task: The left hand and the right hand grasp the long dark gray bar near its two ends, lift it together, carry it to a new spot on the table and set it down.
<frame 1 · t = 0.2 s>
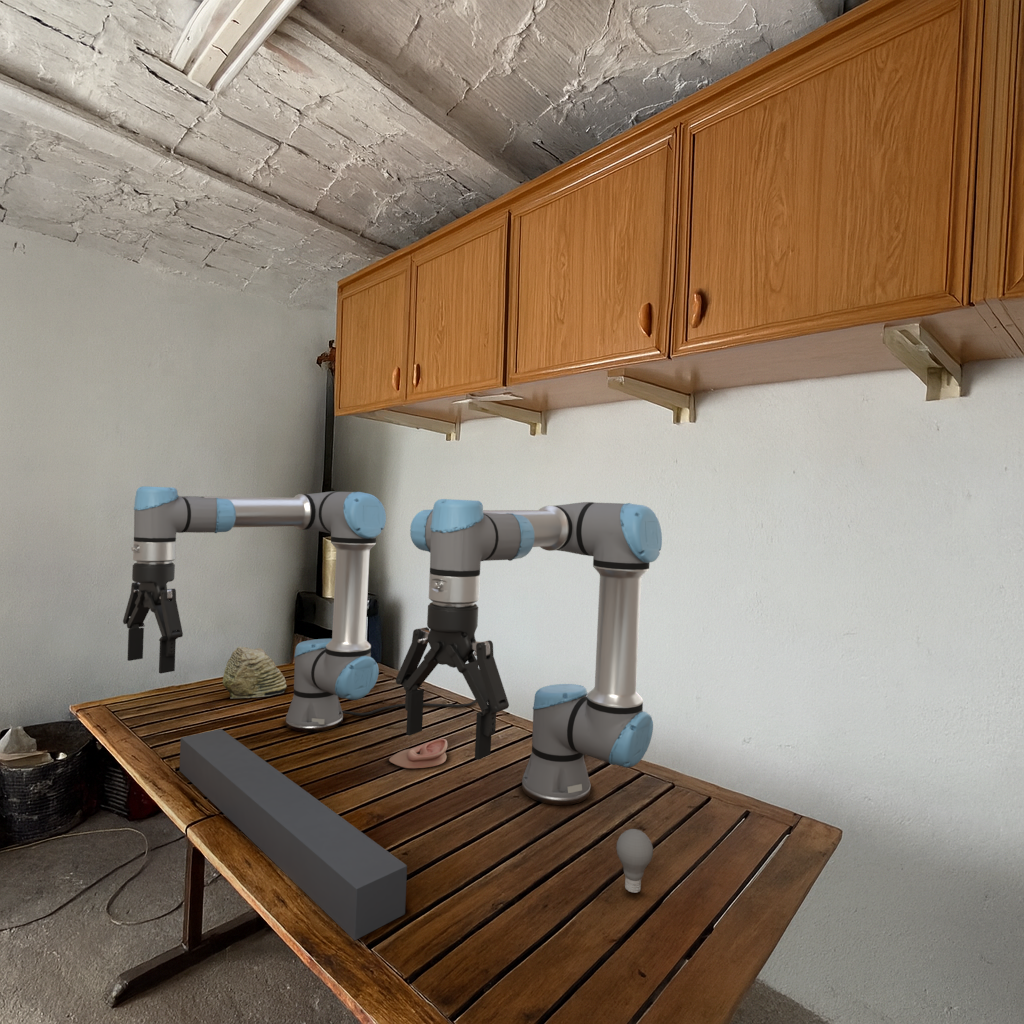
left hand: (150, 665, 130), 27 cm above the table, tool pointing down, fingers open, 13 cm apart
right hand: (446, 744, 95), 27 cm above the table, tool pointing down, fingers open, 13 cm apart
fossil: (254, 694, 198), on the table
anatomical model: (418, 760, 154), on the table
long dark gray bar: (270, 828, 120), on the table
light bulb: (632, 891, 106), on the table
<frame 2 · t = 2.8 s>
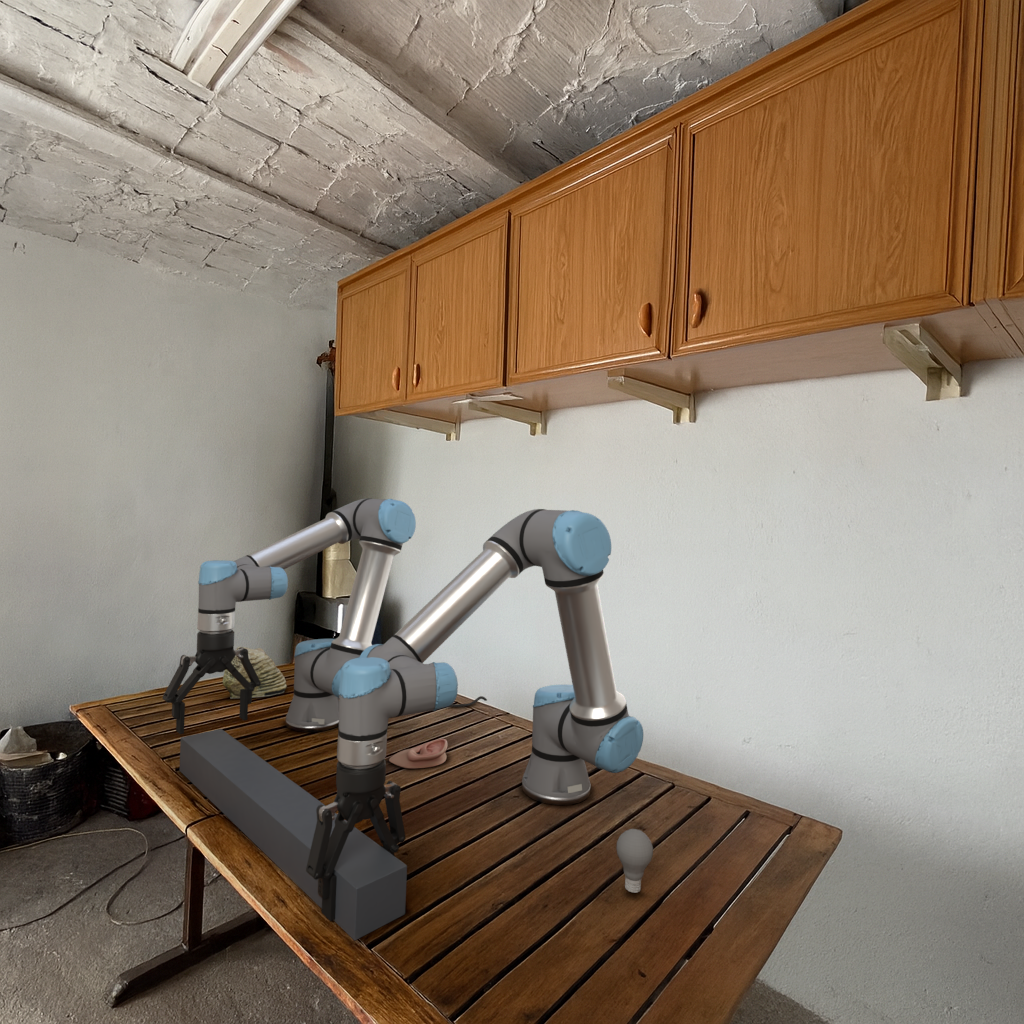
left hand: (212, 725, 141), 11 cm above the table, tool pointing down, fingers open, 13 cm apart
right hand: (356, 902, 99), 0 cm above the table, tool pointing down, fingers closed on long dark gray bar, 9 cm apart
long dark gray bar: (270, 828, 120), on the table, touching right hand
everything else where it was.
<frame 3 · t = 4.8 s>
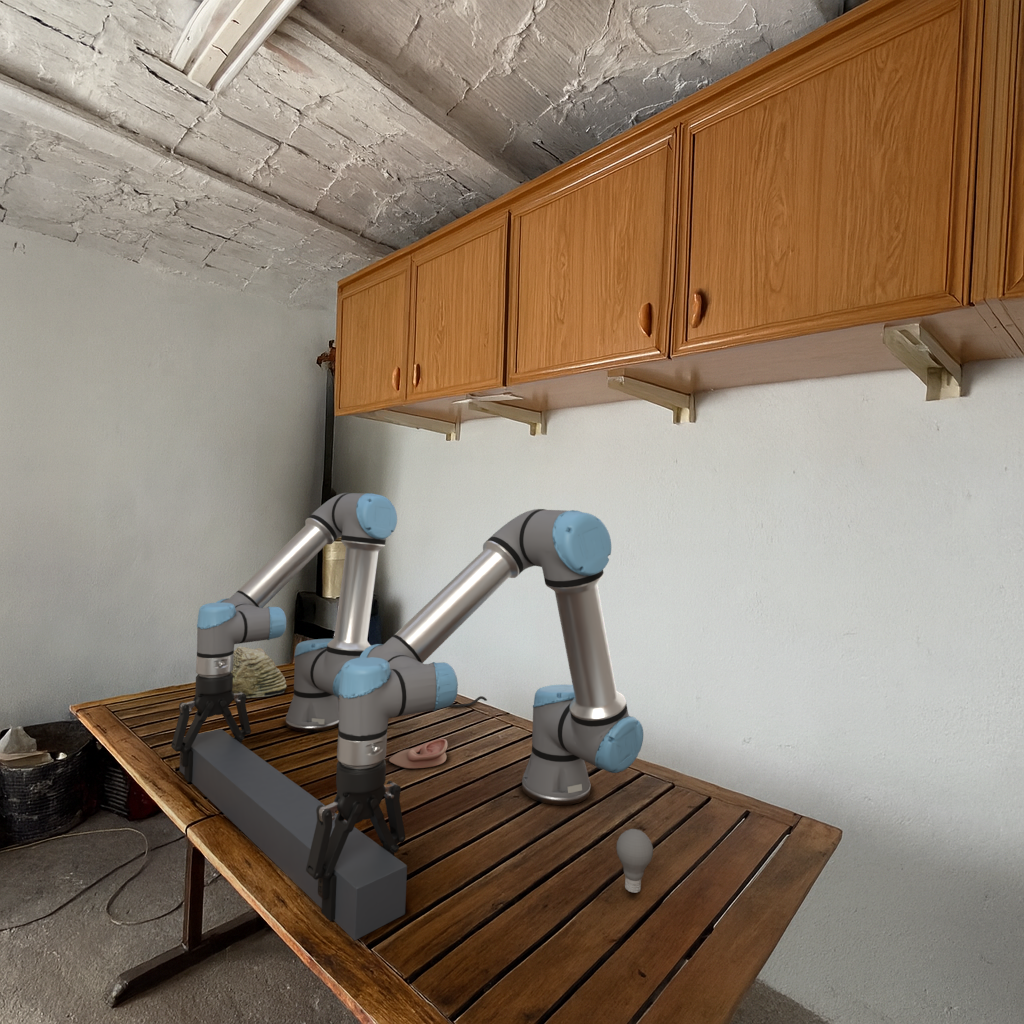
left hand: (211, 773, 141), 0 cm above the table, tool pointing down, fingers closed on long dark gray bar, 9 cm apart
right hand: (356, 902, 99), 0 cm above the table, tool pointing down, fingers closed on long dark gray bar, 9 cm apart
long dark gray bar: (270, 828, 120), on the table, touching left hand, right hand
everything else where it was.
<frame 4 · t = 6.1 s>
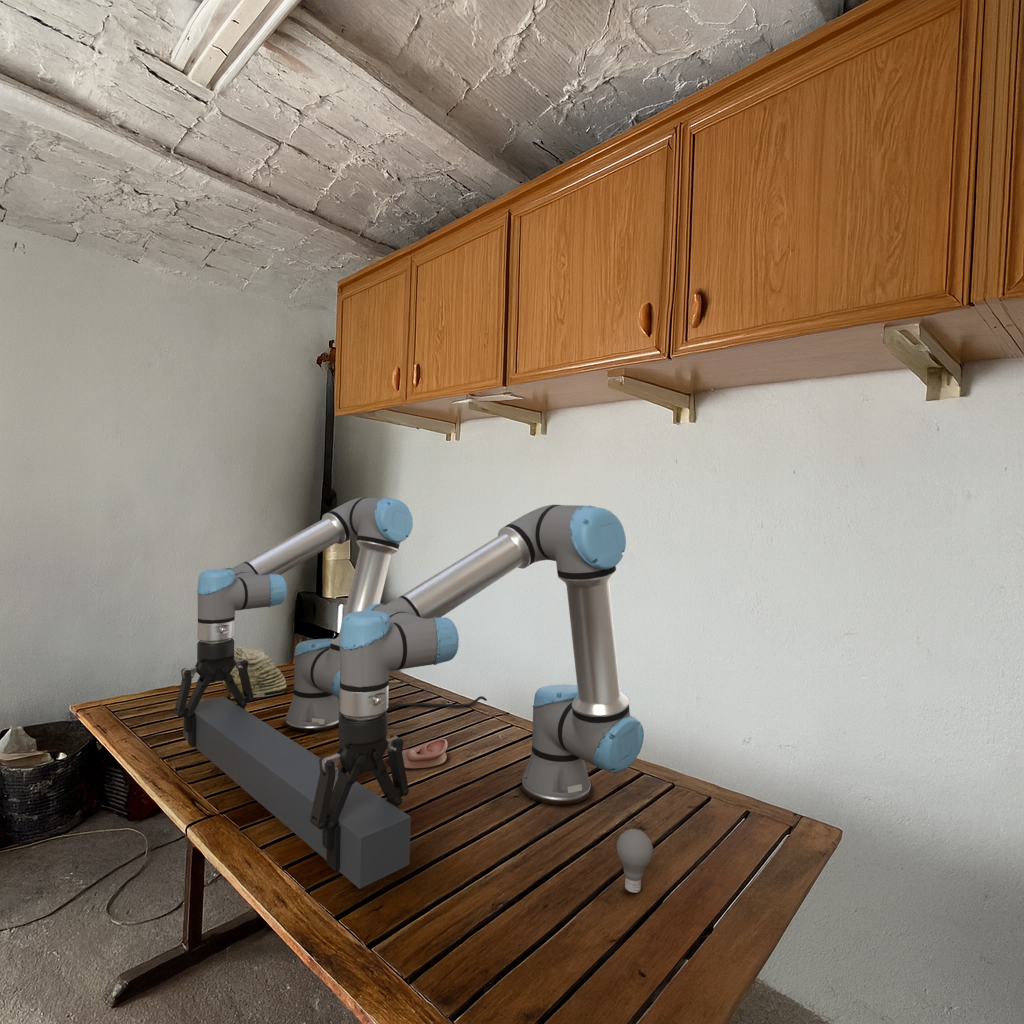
left hand: (214, 739, 142), 8 cm above the table, tool pointing down, fingers closed on long dark gray bar, 9 cm apart
right hand: (360, 854, 99), 8 cm above the table, tool pointing down, fingers closed on long dark gray bar, 9 cm apart
long dark gray bar: (275, 789, 121), point 7 cm above the table, touching left hand, right hand
everything else where it was.
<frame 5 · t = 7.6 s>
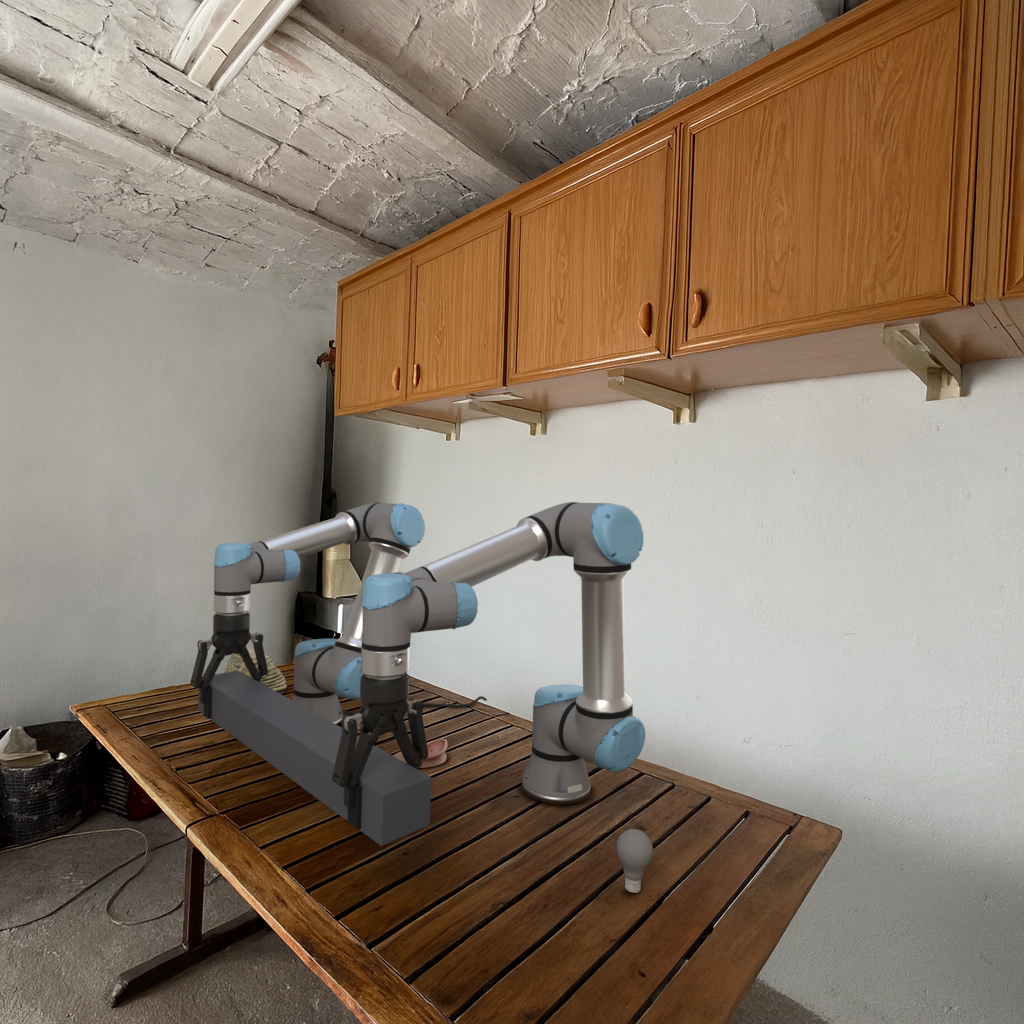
left hand: (229, 712, 142), 14 cm above the table, tool pointing down, fingers closed on long dark gray bar, 9 cm apart
right hand: (381, 814, 100), 14 cm above the table, tool pointing down, fingers closed on long dark gray bar, 9 cm apart
long dark gray bar: (292, 756, 121), point 13 cm above the table, touching left hand, right hand
everything else where it was.
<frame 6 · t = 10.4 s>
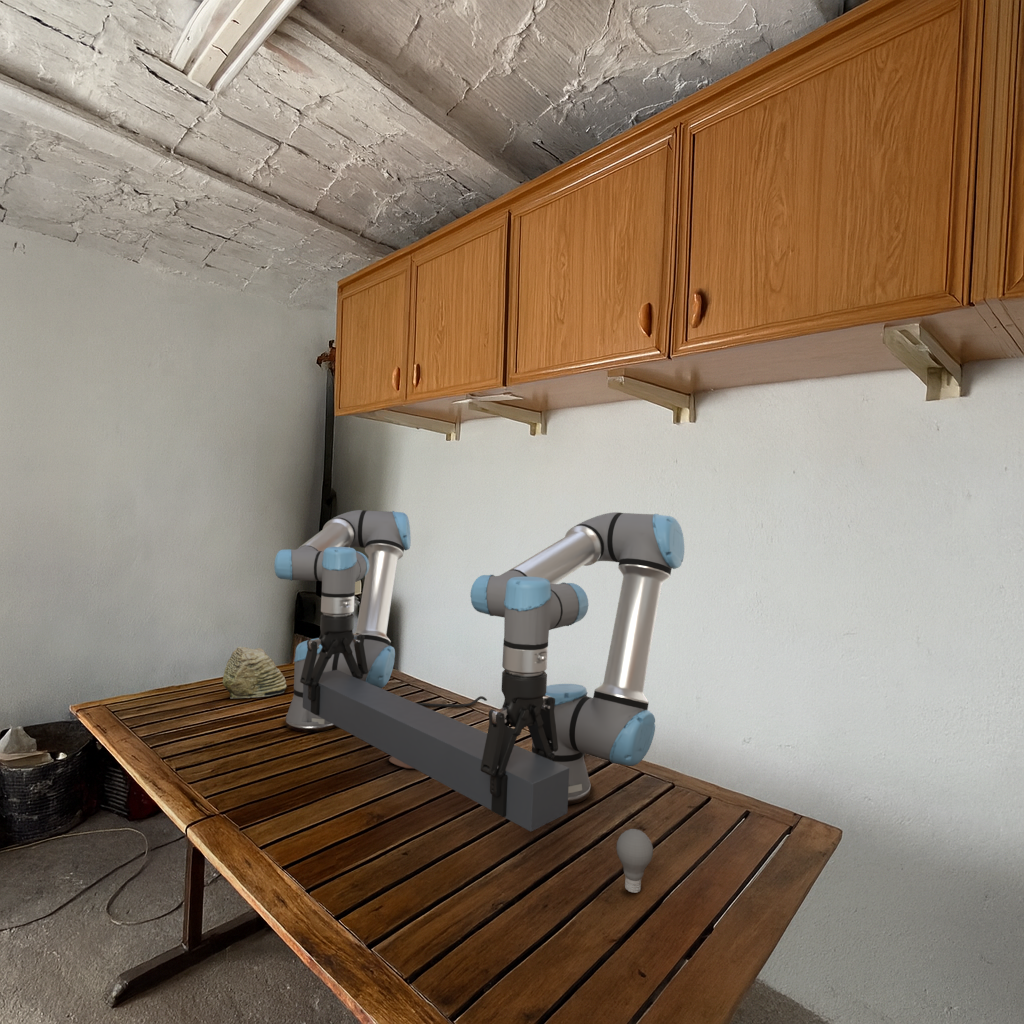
left hand: (333, 708, 149), 14 cm above the table, tool pointing down, fingers closed on long dark gray bar, 9 cm apart
right hand: (519, 803, 106), 14 cm above the table, tool pointing down, fingers closed on long dark gray bar, 9 cm apart
long dark gray bar: (411, 751, 127), point 13 cm above the table, touching left hand, right hand
everything else where it was.
when the left hand's fingers open (2 cm above the table, at t = 12.5 s): long dark gray bar drops 1 cm, on the table.
when the right hand's fingers open (2 cm above the table, at t = 12.5 s): long dark gray bar drops 1 cm, on the table.
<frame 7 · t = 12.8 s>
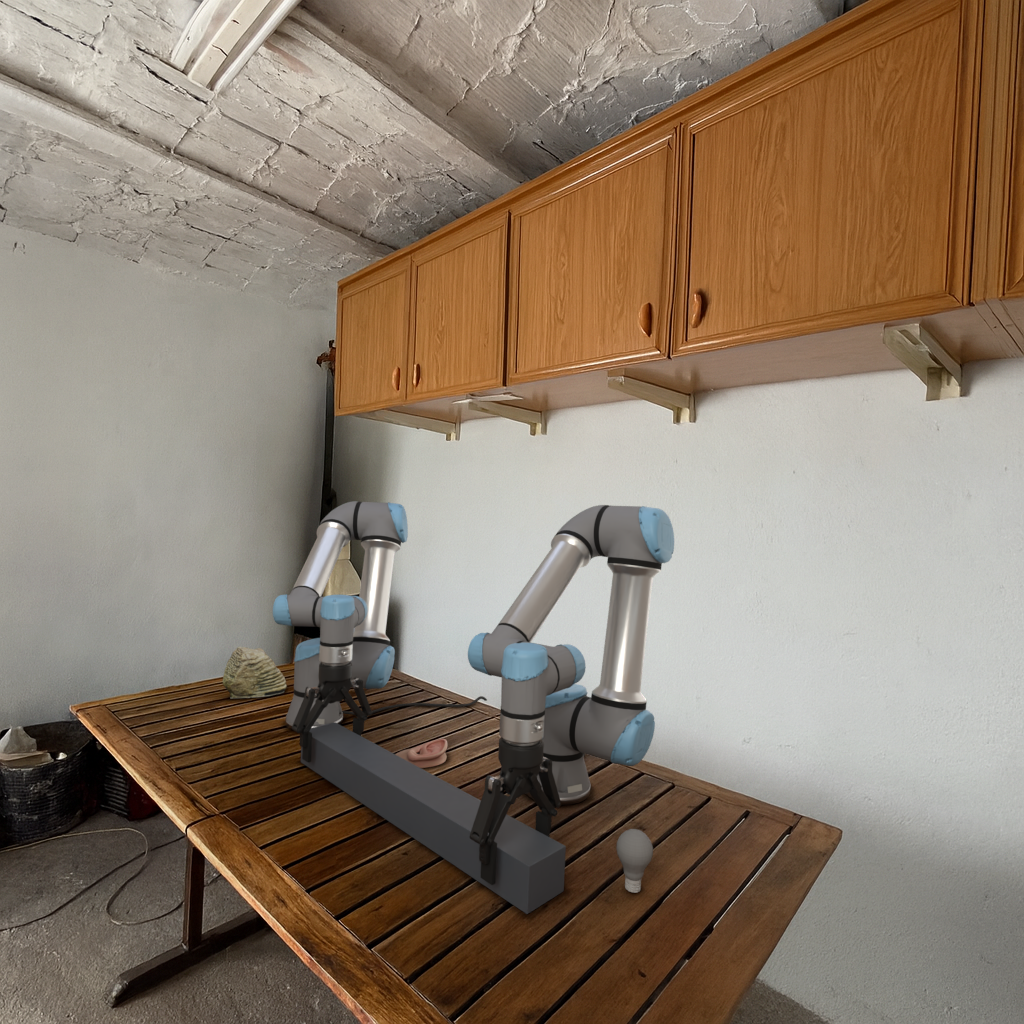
left hand: (332, 753, 149), 3 cm above the table, tool pointing down, fingers open, 12 cm apart
right hand: (515, 865, 106), 3 cm above the table, tool pointing down, fingers open, 12 cm apart
long dark gray bar: (408, 815, 128), on the table
everything else where it was.
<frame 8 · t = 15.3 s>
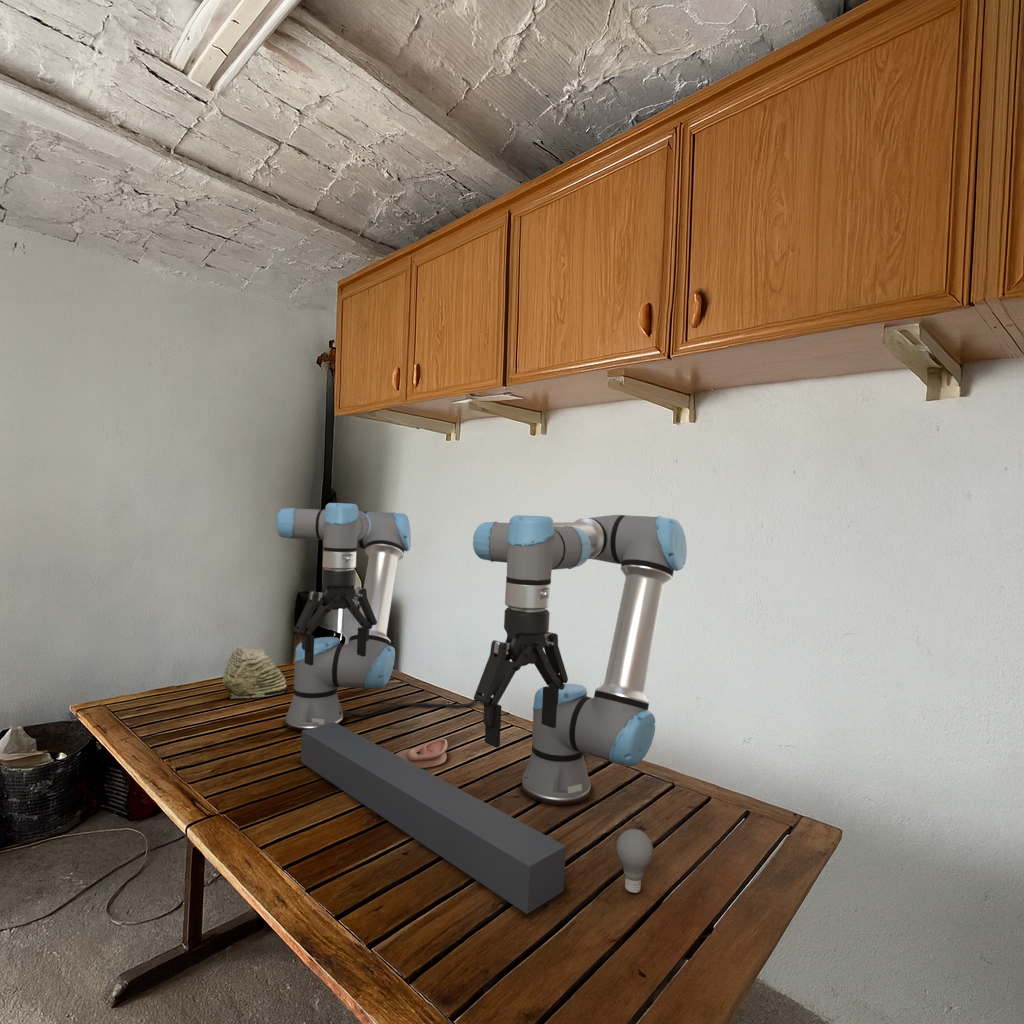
left hand: (335, 659, 148), 25 cm above the table, tool pointing down, fingers open, 13 cm apart
right hand: (521, 734, 106), 25 cm above the table, tool pointing down, fingers open, 13 cm apart
nothing on the table moved.
at the end: long dark gray bar inside the target area (0.1 cm from its centre), on the table; long dark gray bar tilted 0°; long dark gray bar never tilted more than 2° during the clip; both hands held the long dark gray bar at the same time; the left hand is holding nothing; the right hand is holding nothing; long dark gray bar at rest at the end (0.0 cm/s) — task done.
